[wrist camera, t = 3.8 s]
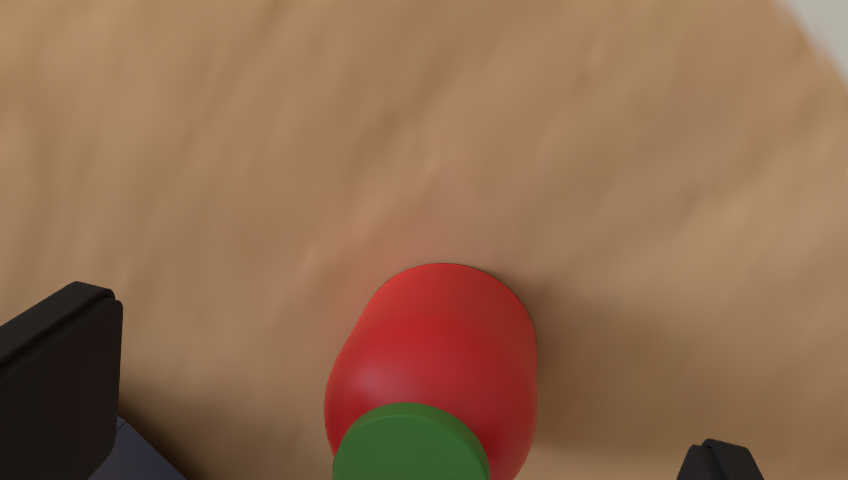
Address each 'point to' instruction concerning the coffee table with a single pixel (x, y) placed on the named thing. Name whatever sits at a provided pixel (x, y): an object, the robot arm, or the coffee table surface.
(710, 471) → the robot arm
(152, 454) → the bowl
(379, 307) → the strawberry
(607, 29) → the coffee table surface
